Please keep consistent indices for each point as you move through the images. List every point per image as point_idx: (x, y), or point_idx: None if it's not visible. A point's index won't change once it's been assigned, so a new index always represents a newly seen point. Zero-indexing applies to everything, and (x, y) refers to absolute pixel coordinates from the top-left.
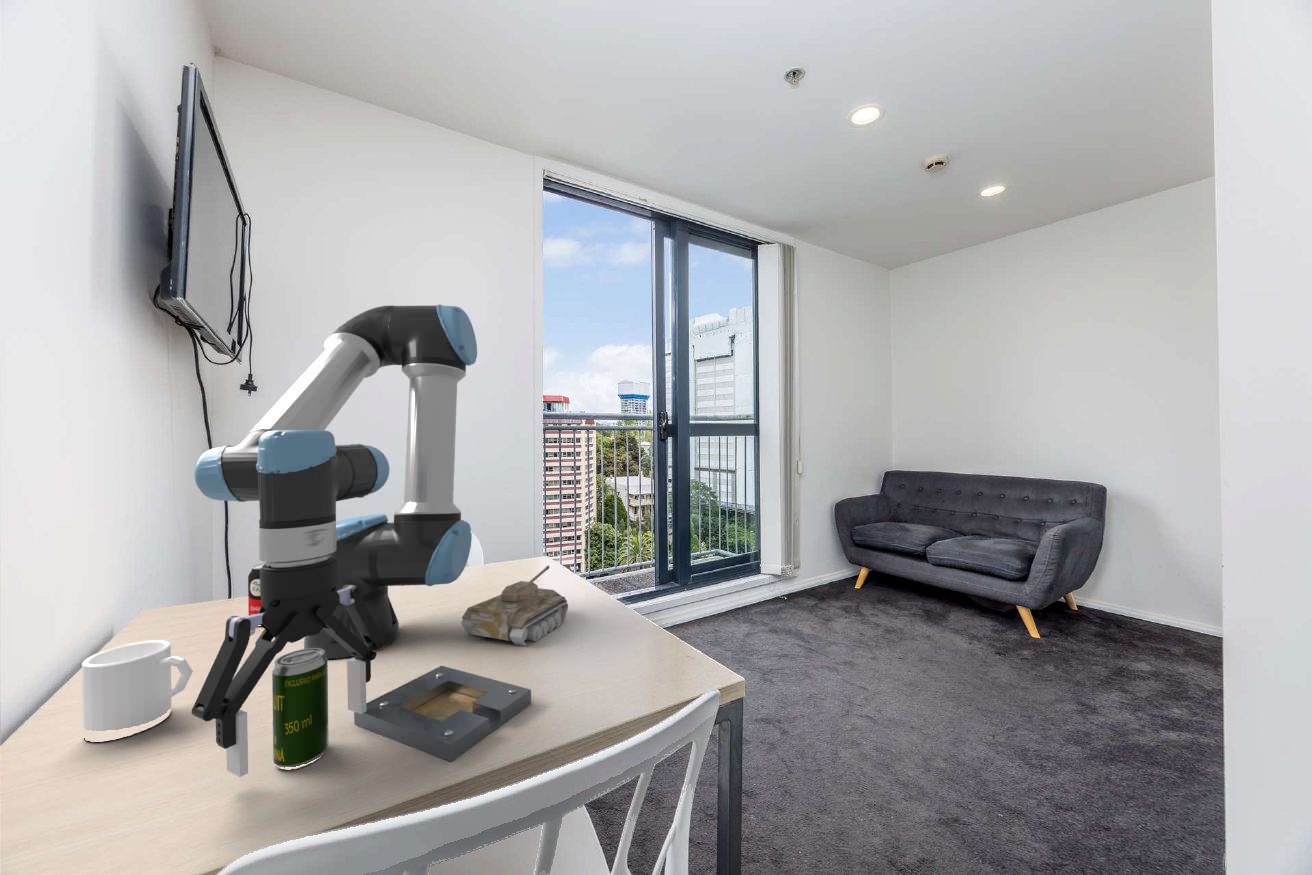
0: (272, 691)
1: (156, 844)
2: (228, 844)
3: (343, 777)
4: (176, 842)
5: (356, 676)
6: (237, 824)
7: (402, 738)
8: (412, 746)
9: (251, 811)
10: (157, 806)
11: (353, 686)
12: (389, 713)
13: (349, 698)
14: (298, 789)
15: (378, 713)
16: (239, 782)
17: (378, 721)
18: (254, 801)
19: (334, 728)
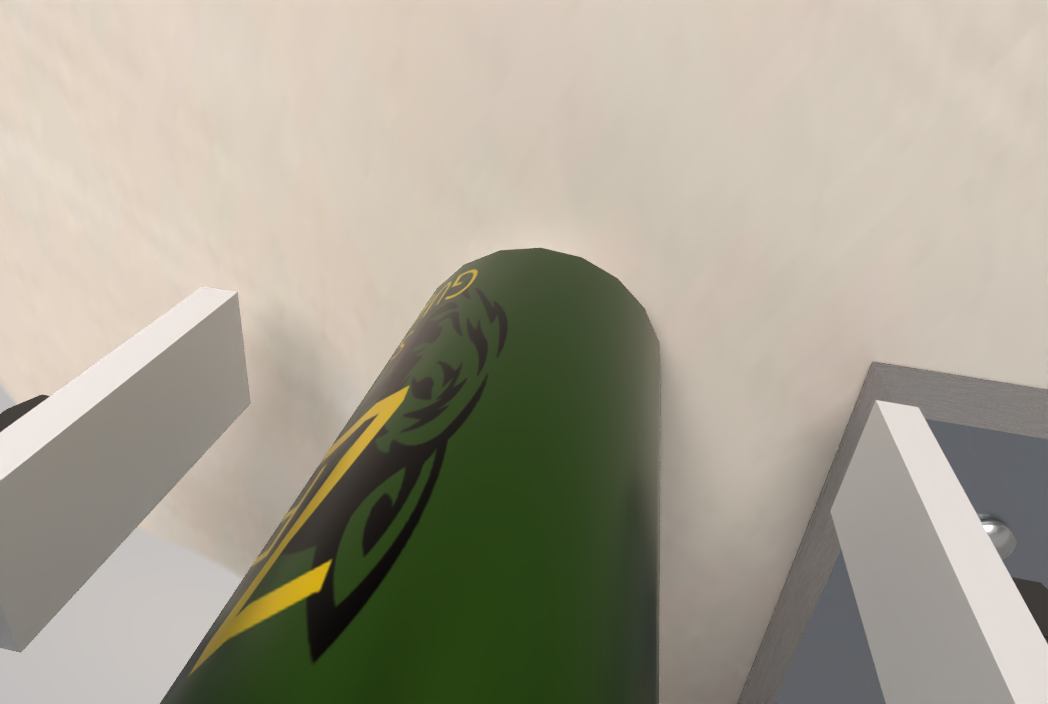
0: (253, 564)
1: (21, 308)
2: (166, 511)
3: None
4: (67, 362)
5: (911, 698)
6: (209, 464)
7: (757, 675)
8: (739, 699)
9: (258, 452)
10: (41, 47)
11: (899, 586)
12: None
13: (889, 468)
14: None
15: None
16: (307, 244)
17: (816, 582)
18: (286, 417)
19: (813, 281)
